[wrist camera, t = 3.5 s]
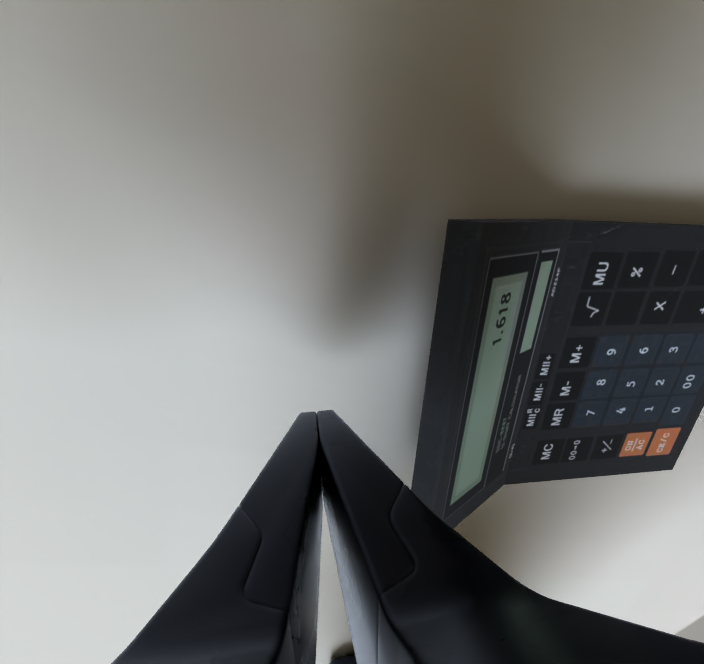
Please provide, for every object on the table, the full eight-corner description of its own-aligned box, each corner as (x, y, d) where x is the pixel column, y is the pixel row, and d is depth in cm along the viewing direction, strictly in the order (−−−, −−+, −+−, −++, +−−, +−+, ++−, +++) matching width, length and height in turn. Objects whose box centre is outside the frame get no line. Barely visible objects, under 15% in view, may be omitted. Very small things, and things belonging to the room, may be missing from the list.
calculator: (652, 454, 15) (734, 515, 12) (388, 476, 13) (413, 553, 10) (755, 227, 11) (905, 237, 8) (415, 214, 9) (463, 222, 7)
